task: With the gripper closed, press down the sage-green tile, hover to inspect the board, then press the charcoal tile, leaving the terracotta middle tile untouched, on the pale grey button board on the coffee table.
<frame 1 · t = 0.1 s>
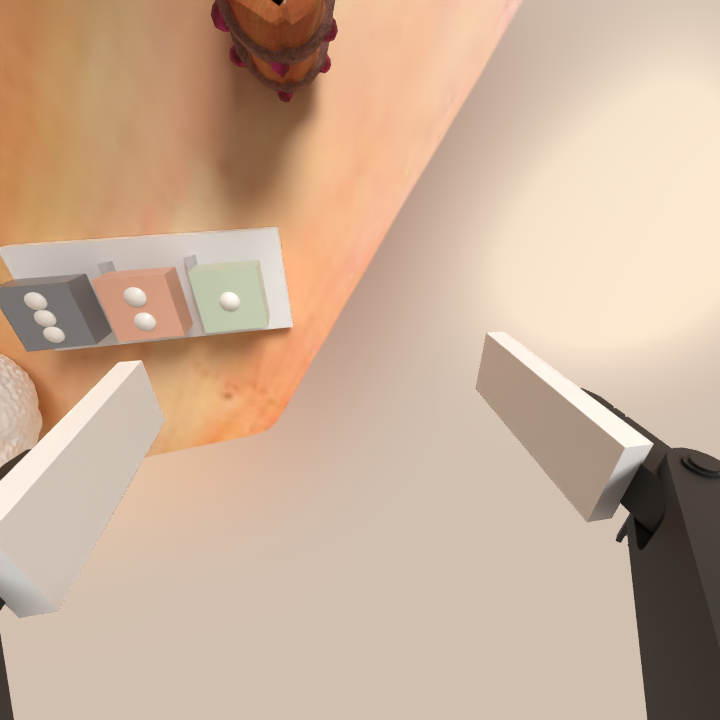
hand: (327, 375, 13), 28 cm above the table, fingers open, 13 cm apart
board: (168, 286, 37), on the table
tile terracotta: (146, 304, 32), point 6 cm above the table, slide at 0.0 cm
mug: (279, 0, 27), on the table
tile charcoal: (56, 312, 31), point 6 cm above the table, slide at 0.0 cm
tile sage: (232, 296, 32), point 6 cm above the table, slide at 0.0 cm
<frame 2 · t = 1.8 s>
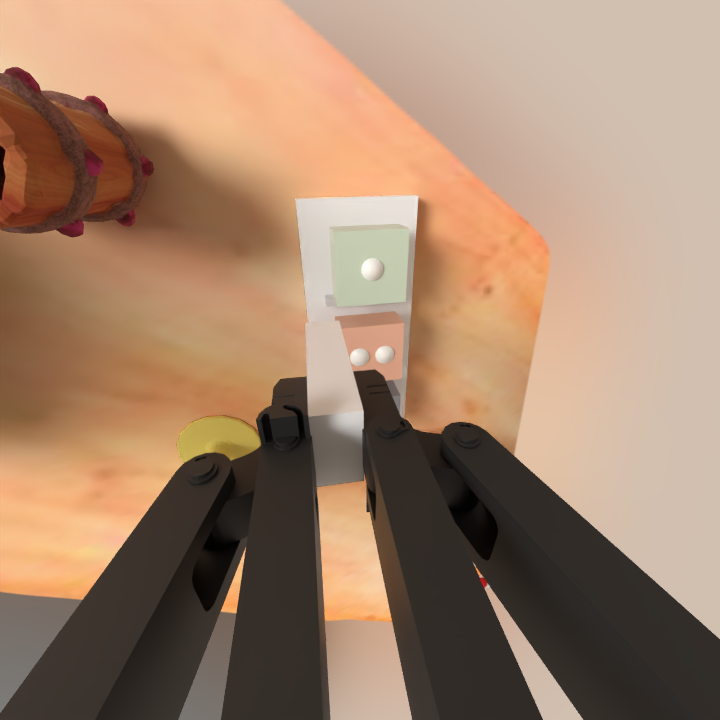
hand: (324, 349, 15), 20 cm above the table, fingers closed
board: (357, 324, 37), on the table
tile terracotta: (368, 348, 32), point 6 cm above the table, slide at 0.0 cm
mug: (65, 161, 26), on the table
candle: (220, 445, 42), on the table
tile charcoal: (369, 413, 36), point 6 cm above the table, slide at 0.0 cm
tile sage: (368, 265, 28), point 6 cm above the table, slide at 0.0 cm
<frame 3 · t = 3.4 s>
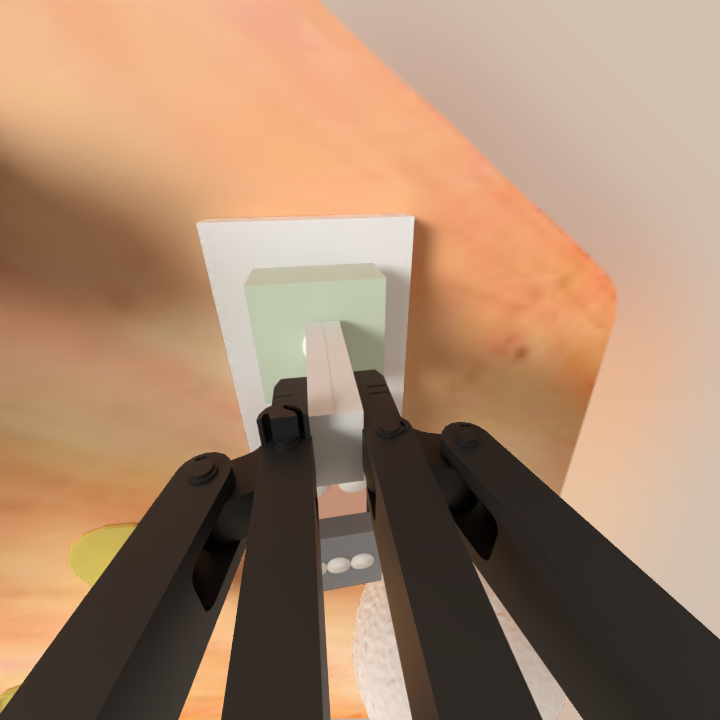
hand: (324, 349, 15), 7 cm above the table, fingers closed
white rounded lump: (417, 552, 37), on the table
board: (324, 403, 25), on the table
tile terracotta: (330, 463, 19), point 6 cm above the table, slide at 0.0 cm
candle: (136, 556, 30), on the table
tile charcoal: (336, 543, 23), point 6 cm above the table, slide at 0.0 cm
tile sage: (320, 332, 17), point 5 cm above the table, slide at 1.1 cm, touching gripper
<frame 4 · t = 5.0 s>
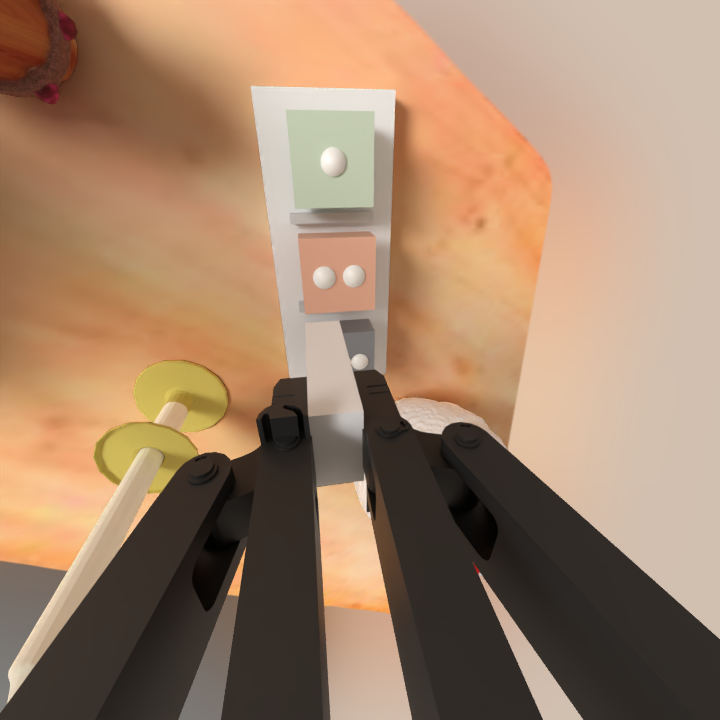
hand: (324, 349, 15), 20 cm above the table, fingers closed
white rounded lump: (405, 419, 45), on the table
board: (331, 257, 33), on the table
tile terracotta: (337, 272, 28), point 6 cm above the table, slide at 0.0 cm
candle: (183, 396, 38), on the table
tile charcoal: (341, 355, 32), point 6 cm above the table, slide at 0.0 cm
tile sage: (331, 163, 25), point 5 cm above the table, slide at 1.1 cm
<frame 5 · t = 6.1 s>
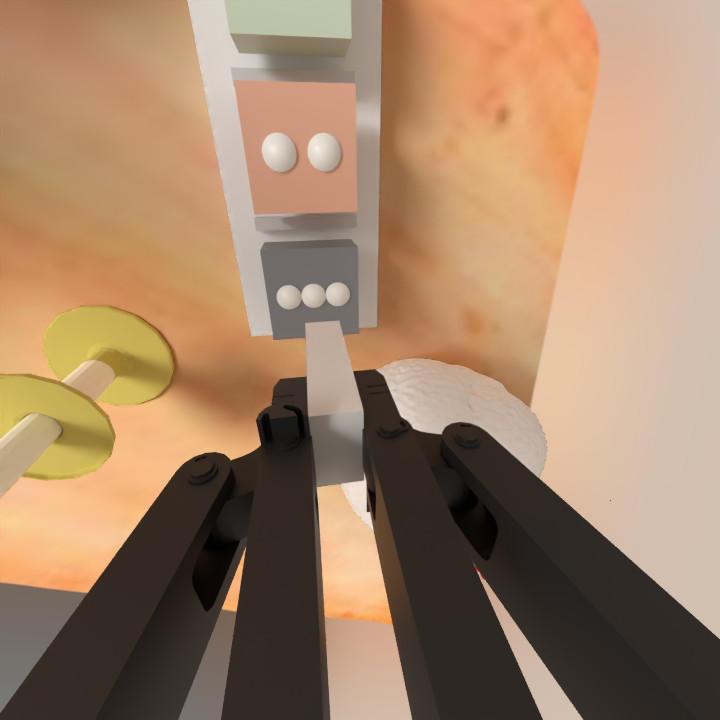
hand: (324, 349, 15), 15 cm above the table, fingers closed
white rounded lump: (402, 391, 36), on the table
board: (301, 159, 24), on the table
tile terracotta: (301, 154, 19), point 6 cm above the table, slide at 0.0 cm
candle: (113, 357, 29), on the table
tile charcoal: (312, 289, 23), point 6 cm above the table, slide at 0.0 cm
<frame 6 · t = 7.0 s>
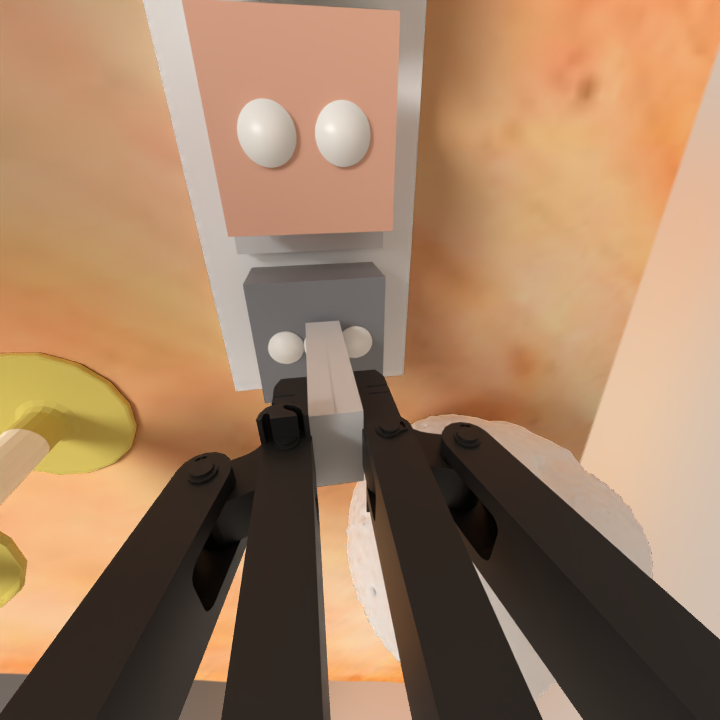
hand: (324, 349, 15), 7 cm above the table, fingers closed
white rounded lump: (429, 444, 29), on the table
board: (303, 151, 17), on the table
tile terracotta: (304, 139, 12), point 6 cm above the table, slide at 0.0 cm
candle: (54, 416, 22), on the table
tile charcoal: (319, 332, 17), point 5 cm above the table, slide at 1.0 cm, touching gripper
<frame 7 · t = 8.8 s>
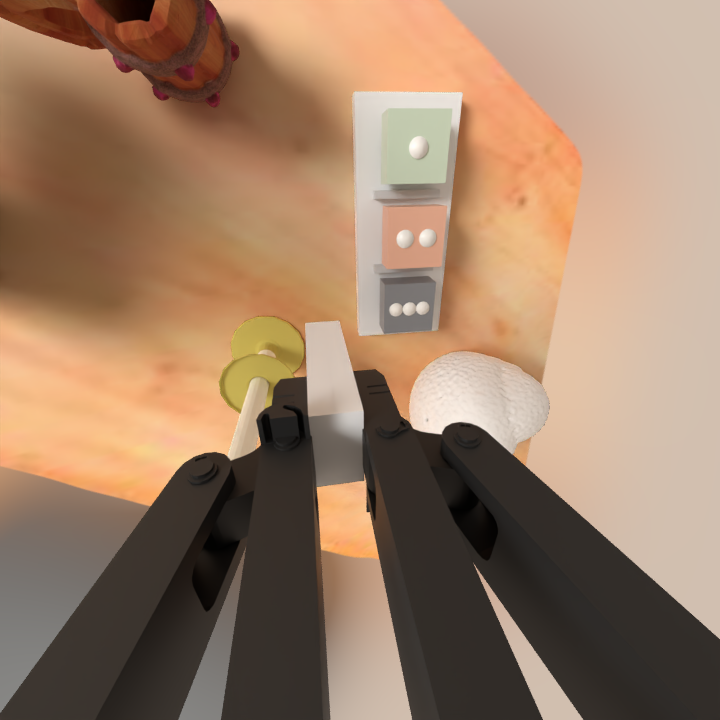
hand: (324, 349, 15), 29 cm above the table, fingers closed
white rounded lump: (449, 375, 52), on the table
board: (399, 229, 40), on the table
tile terracotta: (412, 236, 35), point 6 cm above the table, slide at 0.0 cm
mug: (164, 54, 30), on the table
candle: (268, 348, 46), on the table
tile charcoal: (406, 304, 40), point 5 cm above the table, slide at 1.1 cm
tile sage: (414, 149, 32), point 5 cm above the table, slide at 1.1 cm
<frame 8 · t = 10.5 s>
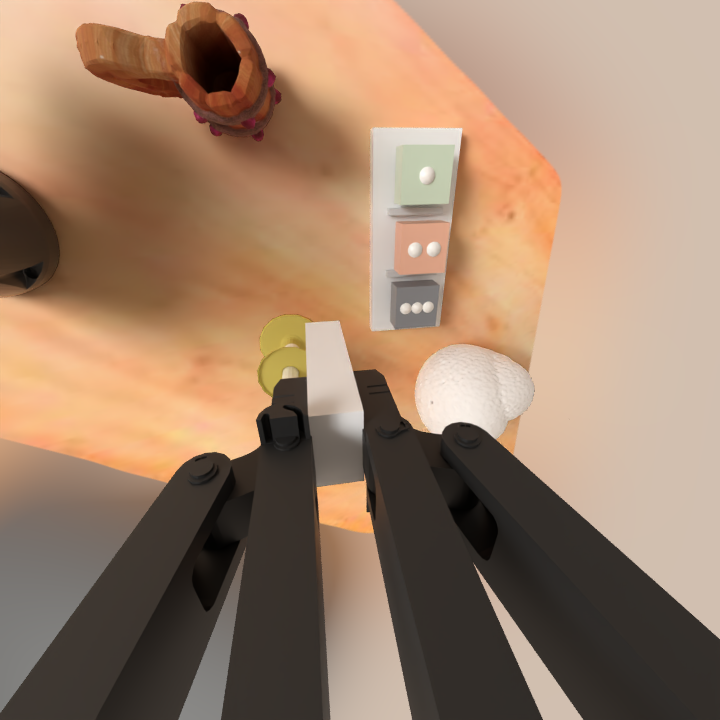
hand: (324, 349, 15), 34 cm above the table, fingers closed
white rounded lump: (448, 366, 59), on the table
board: (407, 239, 47), on the table
tile terracotta: (420, 247, 42), point 6 cm above the table, slide at 0.0 cm
mug: (215, 96, 36), on the table
candle: (292, 343, 52), on the table
tile charcoal: (413, 304, 47), point 5 cm above the table, slide at 1.1 cm
tile sage: (422, 175, 39), point 5 cm above the table, slide at 1.1 cm
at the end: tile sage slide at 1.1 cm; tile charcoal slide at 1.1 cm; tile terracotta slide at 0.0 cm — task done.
